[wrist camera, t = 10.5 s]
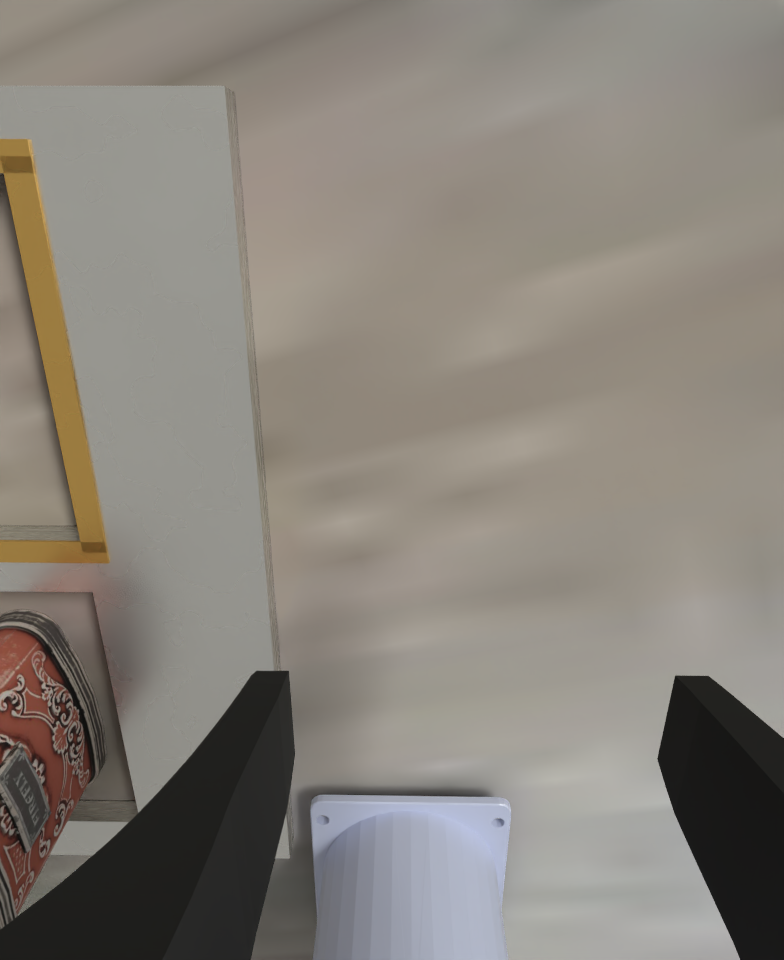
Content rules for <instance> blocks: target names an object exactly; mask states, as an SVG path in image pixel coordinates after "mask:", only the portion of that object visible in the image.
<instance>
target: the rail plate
mask: <svg viewBox="0 0 784 960" xmlns="http://www.w3.org/2000/svg"><path fill="white" fill-rule="evenodd" d="M0 174H4V177H5V182H6V187H7V192H8V196H9V201H10V206H11V211H12V216H13V220H14V225H15V230H16V235H17V240H18V244H19V249H20V254H21V259H22V264H23V268H24V273H25V278H26V283H27V288H28V292H29V297H30V302H31V307H32V312H33V316H34V321H35V326H36V331H37V336H38V340H39V345H40V350H41V355H42V360H43V364H44V369H45V374H46V379H47V384H48V388H49V393H50V398H51V403H52V408H53V412H54V417H55V422H56V427H57V432H58V436H59V441H60V446H61V451H62V456H63V460H64V465H65V470H66V475H67V480H68V484H69V489H70V494H71V499H72V504H73V508H74V513H75V518H76V523H77V527H68V526H0V591H17V592H93V597H94V602H95V606H96V611H97V616H98V621H99V626H100V631H101V635H102V640H103V645H104V650H105V655H106V660H107V664H108V669H109V674H110V679H111V684H112V688H113V693H114V698H115V703H116V708H117V713H118V717H119V722H120V727H121V732H122V737H123V742H124V746H125V751H126V756H127V761H128V766H129V771H130V775H131V780H132V785H133V790H134V795H135V800H136V801H78V803H77V805H76V807H75V808H74V810H73V812H72V814H71V816H70V818H69V820H68V821H67V823H66V825H65V827H64V829H63V831H62V833H61V834H60V836H59V838H58V840H57V842H56V844H55V846H54V847H53V849H52V851H51V853H50V855H94V854H95V853H96V852H97V851H98V850H99V849H101V848H102V847H103V846H104V845H105V844H106V843H107V842H109V841H110V840H111V839H112V838H113V837H114V836H115V835H116V834H117V833H118V832H119V831H120V830H121V829H122V828H123V827H124V826H125V825H126V824H127V823H128V822H130V821H131V820H132V819H133V818H134V817H135V816H136V815H137V814H138V813H139V812H140V811H141V810H142V809H143V808H144V807H145V805H146V804H147V803H148V802H149V801H150V800H151V799H152V798H153V797H154V796H155V795H156V794H157V793H158V792H159V791H160V790H161V789H162V787H163V786H164V785H165V784H166V783H167V782H168V781H169V780H170V778H171V777H172V776H173V775H174V774H175V773H176V772H177V771H178V769H179V768H180V767H181V766H182V765H183V764H184V763H185V762H186V760H187V759H188V758H189V757H190V756H191V755H192V753H193V752H194V751H195V750H196V748H197V747H198V746H199V745H200V743H201V742H202V741H203V740H204V738H205V737H206V736H207V735H208V733H209V732H210V731H211V730H212V728H213V727H214V726H215V725H216V723H217V722H218V721H219V719H220V718H221V717H222V715H223V714H224V713H225V711H226V710H227V709H228V707H229V706H230V705H231V703H232V702H233V701H234V699H235V698H236V696H237V695H238V694H239V692H240V691H241V689H242V688H243V687H244V685H245V684H246V682H247V681H248V679H249V678H250V676H251V675H252V674H253V673H254V672H256V671H280V661H279V649H278V636H277V624H276V611H275V599H274V586H273V574H272V561H271V549H270V536H269V524H268V511H267V499H266V486H265V474H264V461H263V449H262V436H261V424H260V411H259V399H258V386H257V374H256V361H255V349H254V336H253V324H252V311H251V299H250V286H249V274H248V261H247V249H246V236H245V224H244V212H243V199H242V187H241V174H240V162H239V149H238V137H237V124H236V112H235V99H234V92H233V91H232V90H230V89H229V88H227V87H225V86H0ZM293 838H294V836H293V824H292V811H291V799H290V794H289V801H288V808H287V812H286V816H285V820H284V824H283V828H282V832H281V836H280V840H279V844H278V848H277V852H276V856H275V858H286V859H290V855H291V849H292V844H293Z"/></svg>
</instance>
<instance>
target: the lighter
mask: <svg viewBox="0 0 784 960" xmlns="http://www.w3.org/2000/svg"><path fill="white" fill-rule="evenodd" d="M106 755H107V752H106V743H105V735H104V727H103V722H102V718H101V715H100V711H99V708H98V704H97V700H96V697H95V693H94V691H93V689H92V686H91V684H90V682H89V680H88V678H87V675H86V673H85V671H84V669H83V667H82V664H81V662H80V660H79V658H78V657H77V655H76V653H75V652H74V650H73V648H72V647H71V645H70V643H69V642H68V640H67V638H66V637H65V635H64V634H63V632H62V630H61V629H60V627H59V626H58V625H57V624H56V623H55V622H54V620H52V619H51V618H49V617H47V616H46V615H44V614H42V613H39V612H35V611H32V610H14V611H9V612H6V613H5V614H3V615H1V616H0V929H2V928H3V927H4V926H6V925H7V924H8V923H10V922H11V921H12V920H14V919H15V918H16V917H17V914H18V913H19V911H20V909H21V907H22V905H23V903H24V901H25V900H26V898H27V896H28V894H29V892H30V890H31V888H32V887H33V885H34V883H35V881H36V879H37V877H38V875H39V874H40V872H41V870H42V868H43V866H44V864H45V862H46V861H47V859H48V857H49V855H50V853H51V851H52V849H53V847H54V846H55V844H56V842H57V840H58V838H59V836H60V834H61V833H62V831H63V829H64V827H65V825H66V823H67V821H68V820H69V818H70V816H71V814H72V812H73V810H74V808H75V807H76V805H77V803H78V801H79V799H80V797H81V795H82V794H83V792H84V790H85V788H86V787H87V786H88V785H90V784H92V783H93V782H94V780H95V779H96V778H97V776H98V774H99V772H100V770H101V768H102V767H103V765H104V763H105V761H106Z"/></svg>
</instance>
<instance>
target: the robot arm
mask: <svg viewBox="0 0 784 960" xmlns="http://www.w3.org/2000/svg"><path fill="white" fill-rule="evenodd" d="M294 757H295V748H294V735H293V721H292V708H291V694H290V681H289V671H256V672H254V673H253V674H252V675H251V676H250V678H249V679H248V681H247V682H246V684H245V685H244V687H243V688H242V689H241V691H240V692H239V694H238V695H237V696H236V698H235V699H234V701H233V702H232V703H231V705H230V706H229V707H228V709H227V710H226V711H225V713H224V714H223V715H222V717H221V718H220V719H219V721H218V722H217V723H216V725H215V726H214V727H213V728H212V730H211V731H210V732H209V733H208V735H207V736H206V737H205V738H204V740H203V741H202V742H201V743H200V745H199V746H198V747H197V748H196V750H195V751H194V752H193V753H192V755H191V756H190V757H189V758H188V759H187V760H186V762H185V763H184V764H183V765H182V766H181V767H180V768H179V769H178V771H177V772H176V773H175V774H174V775H173V776H172V777H171V778H170V780H169V781H168V782H167V783H166V784H165V785H164V786H163V787H162V789H161V790H160V791H159V792H158V793H157V794H156V795H155V796H154V797H153V798H152V799H151V800H150V801H149V802H148V803H147V804H146V805H145V807H144V808H143V809H142V810H141V811H140V812H139V813H138V814H137V815H136V816H135V817H134V818H133V819H132V820H131V821H130V822H128V823H127V824H126V825H125V826H124V827H123V828H122V829H121V830H120V831H119V832H118V833H117V834H116V835H115V836H114V837H113V838H112V839H111V840H110V841H109V842H107V843H106V844H105V845H104V846H103V847H102V848H101V849H99V850H98V851H97V852H96V853H95V854H94V855H93V856H92V857H90V858H89V859H88V860H87V861H86V862H85V863H84V864H83V865H81V866H80V867H79V868H78V869H77V870H76V871H75V872H73V873H72V874H71V875H70V876H69V877H67V878H66V879H65V880H64V881H63V882H61V883H60V884H59V885H58V886H56V887H55V888H54V889H53V890H52V891H50V892H49V893H48V894H46V895H45V896H44V897H42V898H41V899H40V900H38V901H37V902H36V903H35V904H33V905H32V906H31V907H29V908H28V909H27V910H25V911H24V912H23V913H21V914H20V915H19V916H17V917H16V918H15V919H14V920H12V921H11V922H10V923H8V924H7V925H6V926H4V927H3V928H2V929H0V960H250V959H251V955H252V950H253V945H254V941H255V936H256V932H257V928H258V924H259V920H260V916H261V912H262V908H263V904H264V900H265V896H266V892H267V888H268V884H269V880H270V876H271V872H272V868H273V864H274V860H275V856H276V852H277V848H278V844H279V840H280V836H281V832H282V828H283V824H284V820H285V816H286V812H287V808H288V801H289V794H290V787H291V780H292V772H293V765H294ZM658 762H659V766H660V769H661V772H662V776H663V779H664V782H665V785H666V789H667V792H668V795H669V798H670V801H671V804H672V807H673V810H674V813H675V815H676V818H677V820H678V822H679V825H680V827H681V829H682V831H683V834H684V836H685V838H686V840H687V842H688V845H689V847H690V849H691V851H692V853H693V856H694V858H695V860H696V862H697V864H698V867H699V869H700V871H701V873H702V875H703V877H704V880H705V882H706V884H707V886H708V888H709V890H710V893H711V895H712V897H713V899H714V901H715V904H716V906H717V908H718V910H719V912H720V914H721V917H722V919H723V921H724V923H725V925H726V927H727V930H728V932H729V934H730V936H731V938H732V940H733V943H734V945H735V948H736V950H737V952H738V955H739V957H740V960H784V738H783V737H781V736H780V735H779V734H778V733H777V732H775V731H774V730H773V729H772V728H771V727H769V726H768V725H767V724H766V723H765V722H763V721H762V720H761V719H760V718H759V717H758V716H756V715H755V714H754V713H753V712H752V711H750V710H749V709H748V708H747V707H746V706H744V705H743V704H742V703H741V702H740V701H739V700H737V699H736V698H735V697H734V696H733V695H731V694H730V693H729V692H728V691H727V690H725V689H724V688H723V687H722V686H720V685H719V684H718V683H717V682H715V681H714V680H713V679H712V678H710V677H709V676H675V679H674V684H673V689H672V693H671V698H670V703H669V707H668V712H667V717H666V722H665V726H664V731H663V736H662V740H661V745H660V750H659V754H658ZM322 815H323V816H322ZM310 817H311V833H312V848H313V864H314V879H315V895H316V910H317V927H316V936H315V944H314V953H313V960H508V953H507V945H506V938H505V931H504V924H503V917H502V899H503V890H504V880H505V870H506V860H507V850H508V841H509V831H510V821H511V808H510V803H509V802H508V800H506V799H504V798H501V797H457V796H387V795H318V796H316V797H314V798H313V799H312V801H311V807H310ZM496 818H499V819H496Z"/></svg>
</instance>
